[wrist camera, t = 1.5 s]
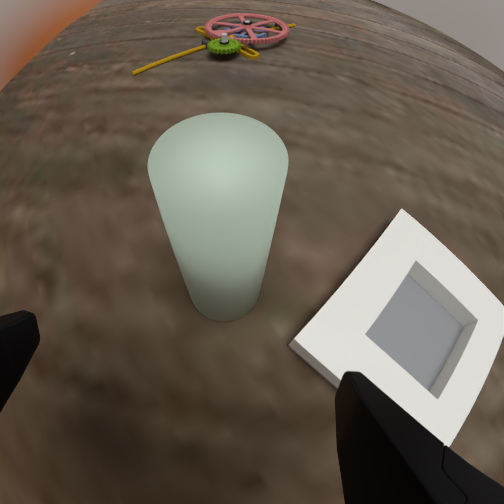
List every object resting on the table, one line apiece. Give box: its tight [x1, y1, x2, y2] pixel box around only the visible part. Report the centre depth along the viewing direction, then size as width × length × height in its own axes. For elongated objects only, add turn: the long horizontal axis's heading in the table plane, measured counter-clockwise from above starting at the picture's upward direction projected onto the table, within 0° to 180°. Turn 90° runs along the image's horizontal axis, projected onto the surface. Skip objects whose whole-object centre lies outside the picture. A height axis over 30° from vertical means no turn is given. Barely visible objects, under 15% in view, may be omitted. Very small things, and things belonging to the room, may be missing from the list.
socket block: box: [288, 209, 504, 447], centre depth 20 cm, size 14×14×2 cm
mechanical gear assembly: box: [132, 13, 296, 76], centre depth 38 cm, size 30×4×15 cm
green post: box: [148, 113, 288, 322], centre depth 17 cm, size 5×5×13 cm
